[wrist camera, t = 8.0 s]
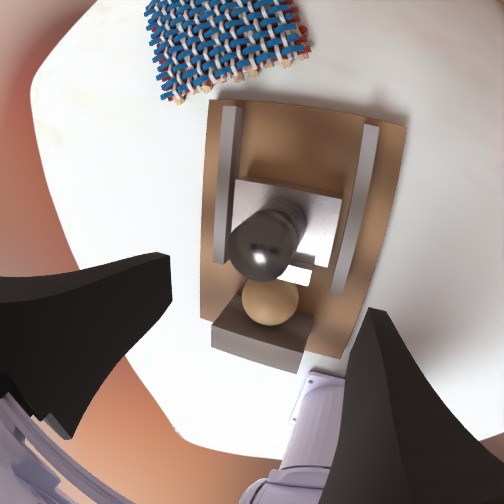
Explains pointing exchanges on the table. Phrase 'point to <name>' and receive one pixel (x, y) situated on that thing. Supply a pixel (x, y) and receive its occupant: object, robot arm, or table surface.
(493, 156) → the table surface
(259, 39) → the woven mat
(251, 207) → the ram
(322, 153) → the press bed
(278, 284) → the walnut
